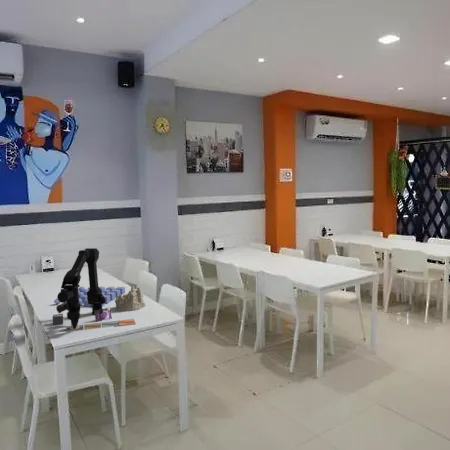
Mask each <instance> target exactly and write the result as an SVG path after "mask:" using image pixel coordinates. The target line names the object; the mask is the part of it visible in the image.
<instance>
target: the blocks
mask: <svg viewBox="0 0 450 450" xmlns="http://www.w3.org/2000/svg"><path fill="white" fill-rule="evenodd" d="M98 287H99V288H100V289H101V291H102V295H103V296H104V298H105V304H102V308H103V307H104V306H105V305H108V304H110V303H111V302H113V301H115V300H116V297H117V296H119V294H122V296H123V295H125V294H126V286H117V287H115V286H108V287H105V286H98ZM89 289H90V286H88V287H87V289H86V288H85V286H80V287H78V293H79V304H80V307H81V306H82V305H83V307H84V308H90V307H91V308H92V304H88V300H87V292H88V291H89ZM66 302H67V301H66ZM53 303H54V304H55V305H56V306H58V305H60V303H61V302H60V301H59V300H58V298H56V299H55V300H53ZM64 303H65V302H64Z"/></svg>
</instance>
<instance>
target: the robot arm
mask: <svg viewBox="0 0 450 450" xmlns="http://www.w3.org/2000/svg"><path fill="white" fill-rule="evenodd" d="M99 255H100V251H99V249H98V248H95V247H93V248H92V247H91V248H90V247H88V248H85V249H81V250H79V251H78V255H77V257H76V259H75V261H74V263H73V265H72V267H71V269H70V270H67V272H66V273H65V275H64V277H63V279H62V282H61V286H60V288H61V289H60V291H59V292H58V293H57V299H58V300H59V301H60V303H61V304H60V303H59V304H58V305H56V307H55V309H56V312H57V314H62V313H63V312H64V311H68V312H67V313H66V319H68V320H69V321H70V323H71V322H72V326H73V329H76V326H77V323H78V324H79V320H80V318H81V306H80V304H79V293H78V289H79V288H80V287H81V285H80V282H81V278H82V275H81V272H82V271H83V267H84V265H85V263H86V264H87V272H88V284H89V287H90V289H89V291H88V292H87V300H88V304H92V306H91V316H95V313H94V311H95V310H100V309H103V307H102V304H105V298H104V296H103V295H102V291H101V289H100V288H99V287H100V286H99V279H98V278H99V277H98V267H97V266H98V265H97V262H98V261H99V258H100V256H99ZM66 301H67V302H66ZM64 302H65V303H64ZM105 305H106V304H105ZM100 313H103V311H102V310H100Z"/></svg>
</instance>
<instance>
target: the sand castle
mask: <svg viewBox="0 0 450 450" xmlns="http://www.w3.org/2000/svg"><path fill="white" fill-rule="evenodd" d="M114 302H115V310H118V311H120V312H121V311H123V312H134V311H138V310H141V309H143V308H145V307H146V306H147V305H146V303H145V301H144V295H143V294H142V290H141V287H140V286H139V287H138V286H137V289H136V290H135V287H134V285H131V286H130V290H129V291H128V293H126V292H125V293H124V294H123V295H122V294H119V296H117V297H116V299H114Z"/></svg>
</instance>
